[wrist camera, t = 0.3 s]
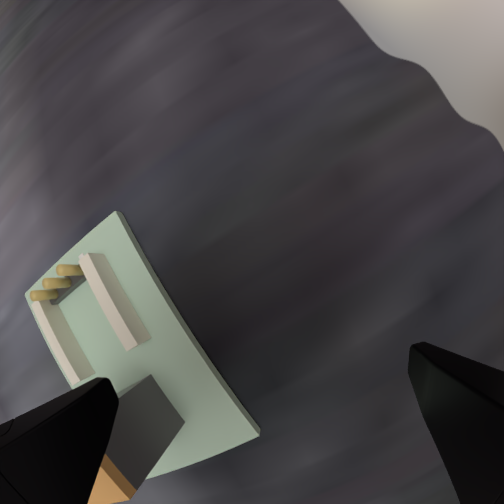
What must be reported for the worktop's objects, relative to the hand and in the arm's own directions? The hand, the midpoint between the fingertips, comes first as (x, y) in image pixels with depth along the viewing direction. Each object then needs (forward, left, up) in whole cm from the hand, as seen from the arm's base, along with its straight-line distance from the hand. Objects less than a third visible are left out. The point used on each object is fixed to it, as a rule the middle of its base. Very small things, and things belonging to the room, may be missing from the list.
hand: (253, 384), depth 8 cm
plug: (-13, +4, -15) cm, 20 cm away
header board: (-12, +8, -16) cm, 21 cm away
